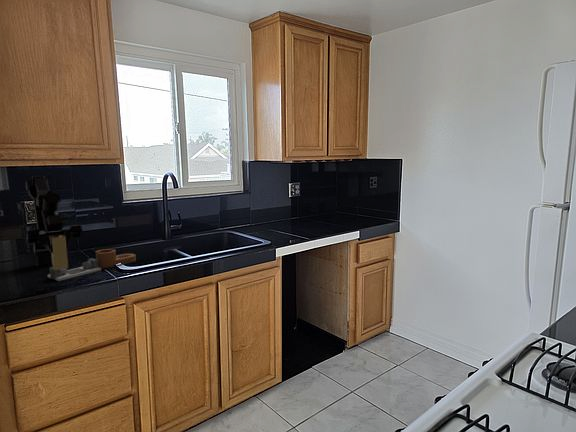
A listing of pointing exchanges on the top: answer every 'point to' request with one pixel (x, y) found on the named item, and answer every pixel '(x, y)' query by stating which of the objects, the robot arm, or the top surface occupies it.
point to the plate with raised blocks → (75, 270)
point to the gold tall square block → (59, 252)
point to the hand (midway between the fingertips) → (59, 251)
